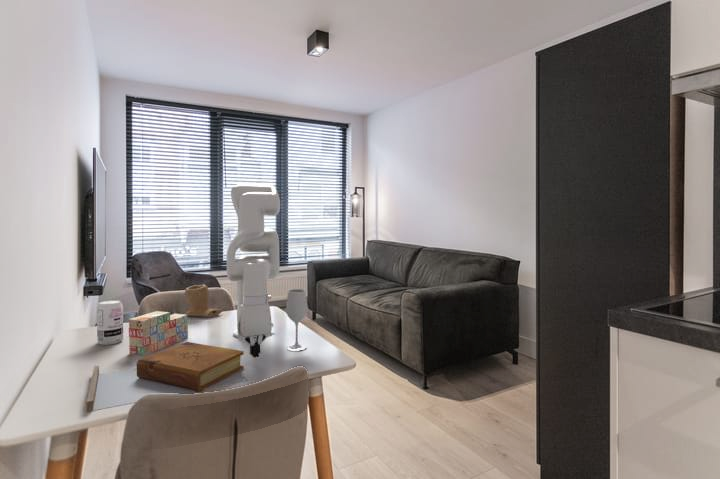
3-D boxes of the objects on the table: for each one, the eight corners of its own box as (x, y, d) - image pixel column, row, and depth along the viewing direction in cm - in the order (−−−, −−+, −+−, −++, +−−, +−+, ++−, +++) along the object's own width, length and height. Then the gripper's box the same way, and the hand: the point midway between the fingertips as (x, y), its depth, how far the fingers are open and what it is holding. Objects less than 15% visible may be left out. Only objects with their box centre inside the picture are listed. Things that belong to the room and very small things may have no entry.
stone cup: (179, 317, 185) (179, 285, 185) (197, 312, 197) (197, 282, 196) (206, 320, 181) (205, 288, 180) (222, 314, 192) (222, 284, 191)
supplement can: (105, 338, 152) (104, 300, 151) (127, 338, 152) (126, 300, 152) (92, 345, 144) (91, 304, 143) (116, 345, 144) (115, 304, 143)
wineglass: (299, 343, 148) (299, 288, 147) (311, 348, 143) (311, 290, 142) (281, 348, 143) (281, 290, 142) (294, 353, 138) (294, 293, 137)
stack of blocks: (175, 336, 156) (174, 305, 155) (188, 338, 154) (188, 306, 154) (128, 354, 136) (128, 318, 135) (143, 356, 134) (143, 320, 133)
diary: (136, 379, 114) (136, 360, 114) (187, 358, 132) (187, 341, 131) (198, 392, 106) (198, 371, 105) (243, 368, 123) (243, 350, 123)
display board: (227, 354, 137) (227, 346, 136) (247, 381, 114) (247, 371, 114) (94, 375, 117) (94, 366, 117) (87, 412, 95) (86, 401, 95)
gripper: (273, 296, 134) (273, 349, 135) (228, 300, 127) (228, 356, 128) (281, 300, 128) (281, 355, 129) (234, 304, 120) (234, 364, 121)
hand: (255, 356), depth 128 cm, fingers closed
